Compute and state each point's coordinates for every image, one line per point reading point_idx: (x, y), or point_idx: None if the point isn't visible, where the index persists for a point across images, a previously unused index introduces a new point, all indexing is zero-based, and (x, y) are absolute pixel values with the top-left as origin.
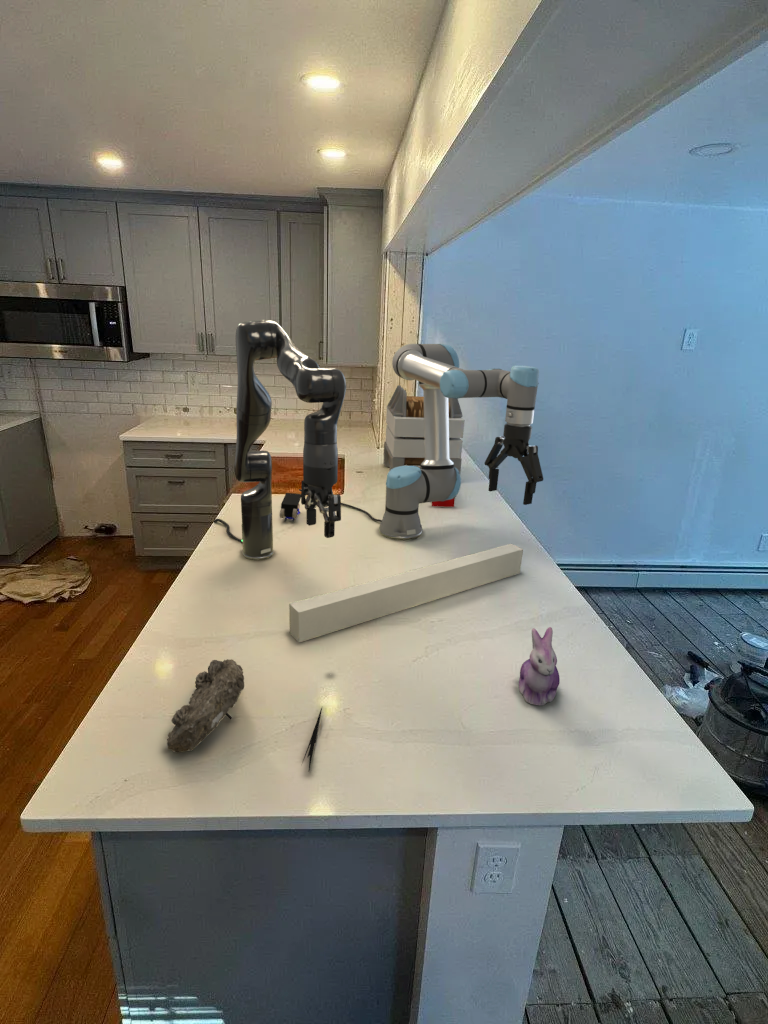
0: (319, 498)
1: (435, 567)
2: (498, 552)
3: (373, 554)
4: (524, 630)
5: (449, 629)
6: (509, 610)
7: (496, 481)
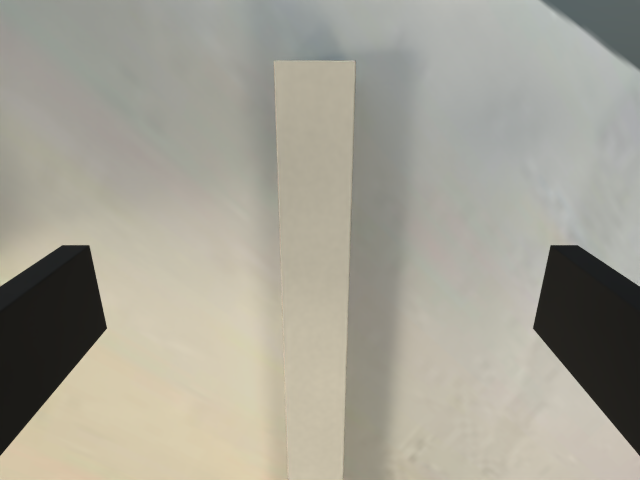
0: None
1: (308, 453)
2: (323, 198)
3: None
4: None
5: (458, 449)
6: (494, 288)
7: (29, 314)
